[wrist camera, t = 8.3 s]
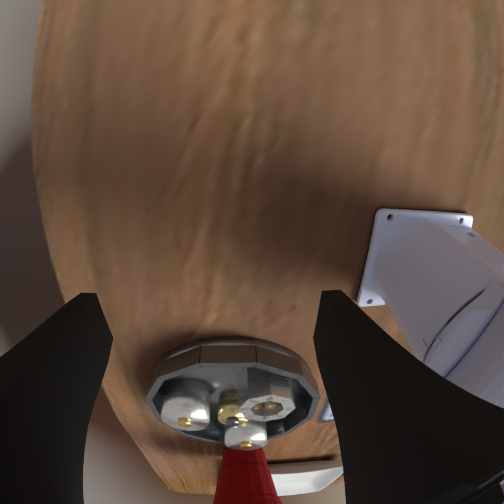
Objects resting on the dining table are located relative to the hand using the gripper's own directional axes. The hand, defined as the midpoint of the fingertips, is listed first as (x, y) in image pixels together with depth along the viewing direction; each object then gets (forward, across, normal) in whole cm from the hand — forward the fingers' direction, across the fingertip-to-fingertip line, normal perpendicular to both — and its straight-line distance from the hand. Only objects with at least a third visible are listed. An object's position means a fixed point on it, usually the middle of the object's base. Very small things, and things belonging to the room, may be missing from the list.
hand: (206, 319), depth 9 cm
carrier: (+10, 0, +19) cm, 21 cm away
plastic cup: (+10, -1, +37) cm, 38 cm away
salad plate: (+10, -8, +53) cm, 55 cm away
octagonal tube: (+9, -3, +16) cm, 18 cm away
